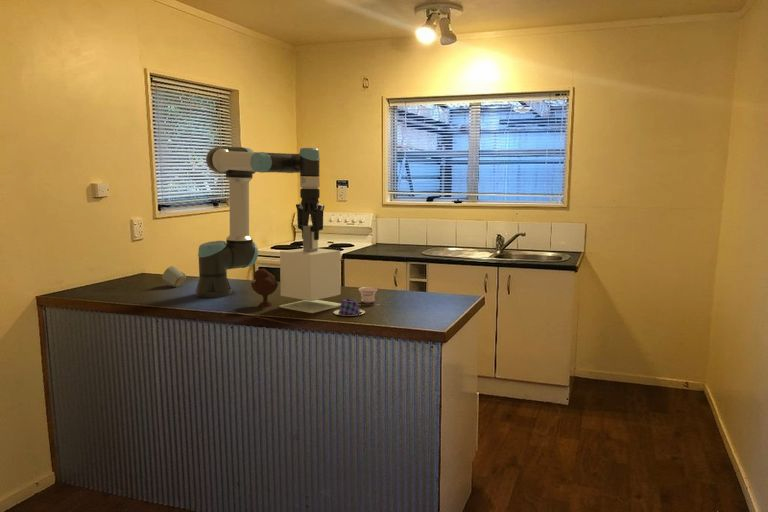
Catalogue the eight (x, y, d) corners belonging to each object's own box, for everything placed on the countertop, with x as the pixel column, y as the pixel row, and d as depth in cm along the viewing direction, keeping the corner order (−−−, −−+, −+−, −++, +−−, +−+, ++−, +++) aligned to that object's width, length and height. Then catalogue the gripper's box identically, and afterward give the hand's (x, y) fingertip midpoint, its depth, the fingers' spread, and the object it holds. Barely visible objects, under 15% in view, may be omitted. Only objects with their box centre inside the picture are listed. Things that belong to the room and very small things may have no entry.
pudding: (371, 314, 226) (371, 300, 225) (348, 319, 218) (347, 305, 217) (350, 309, 235) (350, 296, 234) (327, 313, 226) (326, 300, 225)
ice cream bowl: (273, 308, 234) (272, 270, 232) (246, 307, 236) (245, 270, 234) (283, 303, 244) (282, 267, 242) (257, 302, 246) (256, 266, 244)
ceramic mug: (174, 291, 280) (176, 279, 275) (160, 281, 281) (163, 270, 276) (189, 280, 288) (192, 269, 283) (176, 270, 289) (179, 259, 285)
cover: (280, 295, 236) (279, 225, 233) (310, 289, 250) (309, 223, 246) (311, 301, 226) (310, 228, 223) (340, 294, 239) (340, 225, 236)
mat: (279, 307, 236) (279, 305, 236) (311, 300, 251) (311, 298, 251) (312, 313, 226) (312, 311, 226) (343, 305, 240) (343, 304, 240)
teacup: (349, 302, 247) (349, 287, 247) (376, 299, 252) (376, 285, 252) (360, 307, 237) (360, 292, 236) (387, 305, 241) (387, 290, 241)
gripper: (287, 187, 235) (288, 246, 238) (319, 188, 224) (319, 250, 227) (301, 187, 240) (301, 245, 243) (332, 188, 230) (332, 248, 233)
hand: (310, 247), depth 235 cm, fingers closed on cover, 4 cm apart
